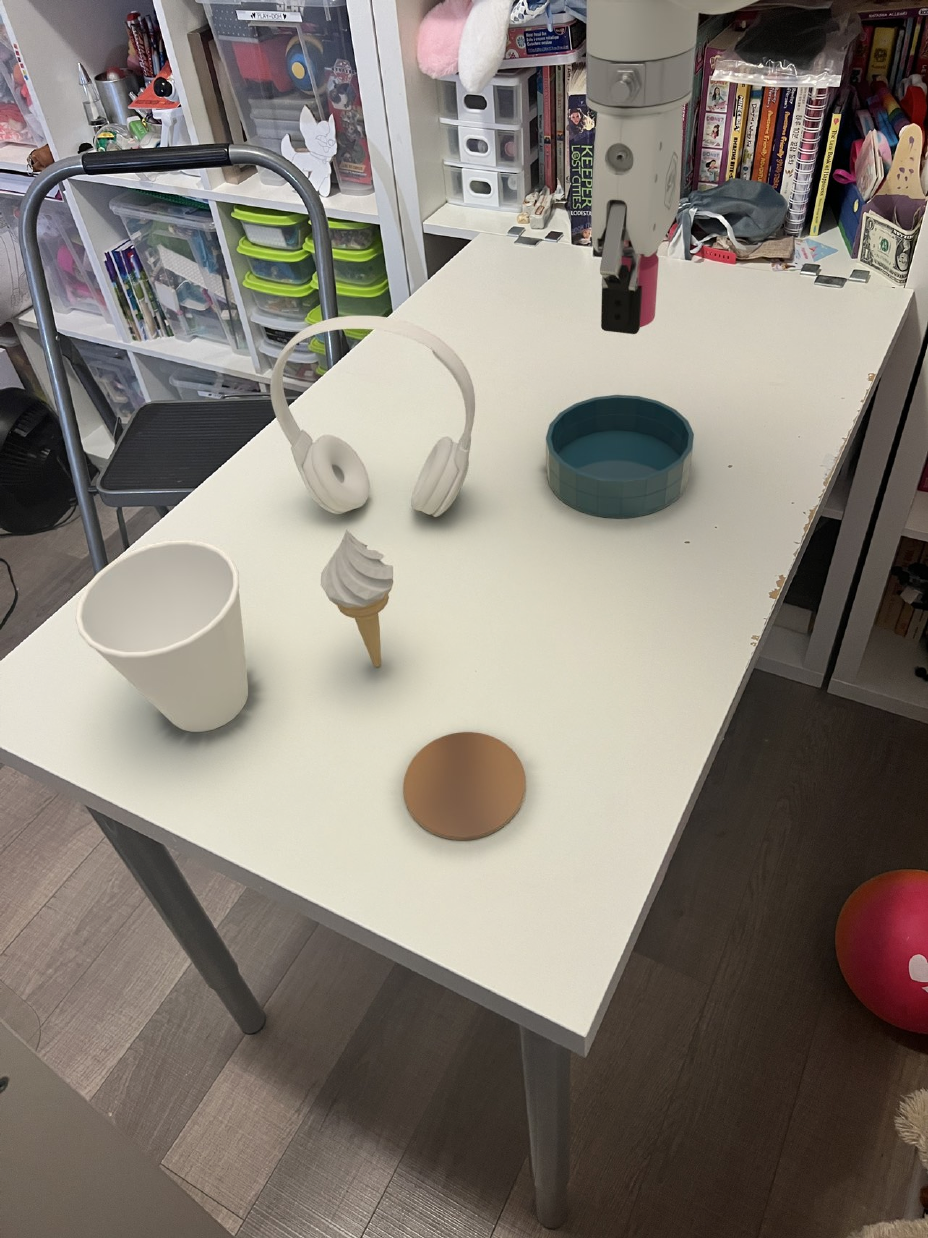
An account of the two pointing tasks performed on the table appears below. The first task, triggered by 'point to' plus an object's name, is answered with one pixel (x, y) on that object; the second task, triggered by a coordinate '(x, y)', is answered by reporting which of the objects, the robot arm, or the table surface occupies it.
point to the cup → (172, 629)
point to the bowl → (619, 456)
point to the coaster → (464, 786)
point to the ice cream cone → (359, 588)
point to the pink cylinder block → (646, 285)
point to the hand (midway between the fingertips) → (628, 313)
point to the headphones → (336, 465)
